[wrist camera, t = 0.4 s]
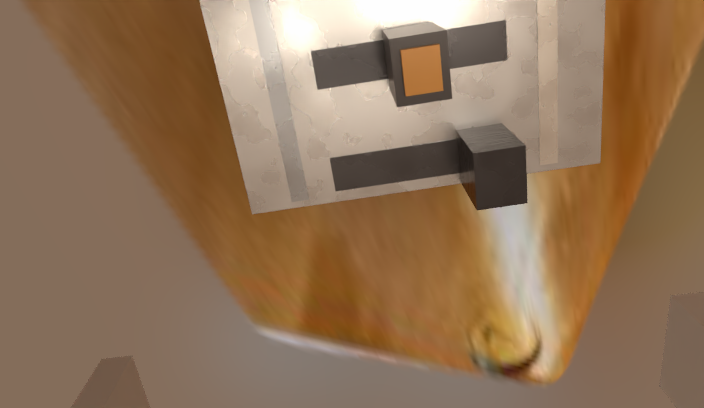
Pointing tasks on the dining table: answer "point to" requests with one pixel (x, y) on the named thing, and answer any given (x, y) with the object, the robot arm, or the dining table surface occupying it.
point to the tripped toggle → (418, 64)
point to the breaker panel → (414, 120)
